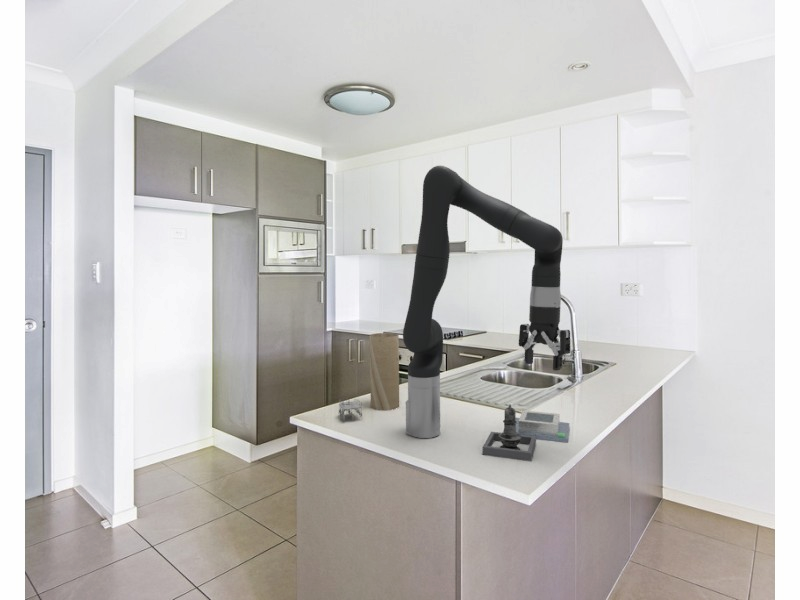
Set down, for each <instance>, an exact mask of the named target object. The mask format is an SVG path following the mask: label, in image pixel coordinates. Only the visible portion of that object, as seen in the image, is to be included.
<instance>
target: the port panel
mask: <svg viewBox="0 0 800 600" xmlns="http://www.w3.org/2000/svg"><path fill="white" fill-rule="evenodd" d="M560 414H561V413H555V412H554V413H553V412H544V411H535V410H534V411H532V410H522V413H521V414H520V416H519V417H516V420H515V421H517V423H516V432H517V434H520V435H525V436H534V437H536V440H544V441H552V442H561V443H562V442H563V443H568V442H569V434H570V433H569V432H570V423H569V422H563V421H561V419H560V416H561V415H560Z"/></svg>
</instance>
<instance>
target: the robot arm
mask: <svg viewBox="0 0 800 600" xmlns="http://www.w3.org/2000/svg"><path fill="white" fill-rule="evenodd" d="M425 174H426V175H425V177H424V180H423V184H422V204H421V205H422V206H421V207H422V208H421V209H422V210H421V219H420V220H421V221H420V227H419V232H418V233H419V234H418V240H417V247H416V252H415V260H414V267H413V268H414V271H413V278H412V285H411V292H410V301H409V305H408V309H407V313H406V318H405V322H404V325H403V330H402V339H403V343H404V346H405V348H406V349H407V350H408V351H410V352H411V353H413V356H412V359H411V361H410V363H408V366H407V393H408V394H407V399H408V400H406V402H405V434H406V435H409V436H412V437H414V438H418V439H419V438H420V439H431V438H436V437H437V436H439V435H440V434H441V367H442V365H443V357H444V356H443V355H444V333H443V329H442V326H441V324H440V323H439V322H438V321H437V320H436V319H434V318H433V313H434V307H435V304H436V300H437V298H438V296H439V294H440V291H441V290H442V288H443V285H444V284H445V281H446V277H447V276H448V268H449V262H450V250H451V249H450V247H451V246H450V238H449V229H448V227H449V225H448V219H449V211H450V207H451V206H455V207H458V208H460V209H463V210H465V211H467V212H469V213H471V214H473V215H475V216H476V217H478V218H479V219H481V220H482V221H483V222H485V223H487V225H489V226H491V227H493V228H494V229H496V230H499V231H500V232H501V233H504V234H506V235H507V236H510V237H512V238H514V239H517V240H519V241H521V242H522V243H524V244H525V245H526V246H528V247H530V248H532V249H534V261H533V262H534V265H533V267H532V270H531V286H530V287H531V288H530V295H529V312H528V313H529V316H528V320H529V323H530V324H529V323H524V324H523V323H522V324H521V323H520V326H519V332H518V333H519V335H518V346H519V347H521V348H523V349H524V361H525V364H527V365H533V364H534V348H535V346H536V345H538V344H543V345H545V346H547V347H548V348H549V349H550V350H551V351H552V353H553V359H552V370H553V371H556V372H557V371H560V370H561V369H562V367H563V356H564V355H568V354H571V331H570V329H560V328H559V324H560V322H561V304H562V303H561V300H562V299H561V298H562V297H561V296H562V295H561V262H562V253H563V239H564V238H563V234H562V232H561V231H560V230H559V229H558V228H557V227H555V226H553V225H552V224H550V223H547V222H546V221H543V220H541V219H538V218H536V217H534V216H531V215H530V214H529V213H527V212H525V211H523V210H522V209H519V208H518V207H516V206H515V205H514V206H513V205H511V204H510V203H508V202H506V201H503V200H501V199H499V198H496V197H493V196H492V195H489V194H487V193H486V192H483V191H481V190H479V189H477V188H476V187H474V186H473V185H471V184H470V183H469V182H468V181H467V180H465V179H464V178H462V177H461V176H460V175H459V174H458V173H457V172H456V171H455V170H454V169H453V170H452V168H450V167H447V166H444V165H435V166H433V167H431V169H429V170H428V171H427V172H426V173H425Z"/></svg>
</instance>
